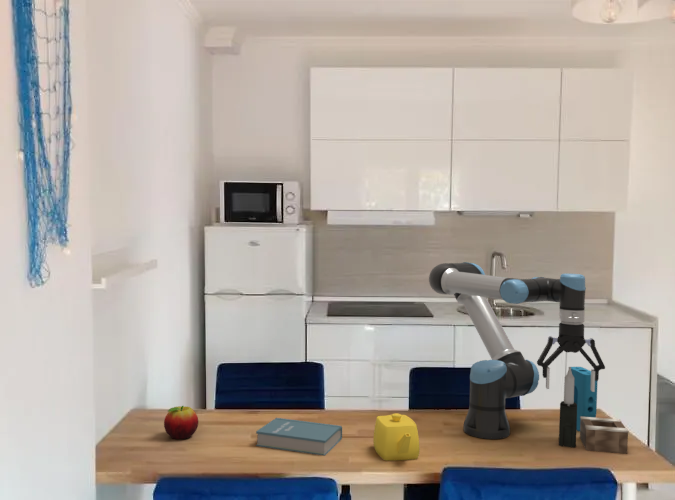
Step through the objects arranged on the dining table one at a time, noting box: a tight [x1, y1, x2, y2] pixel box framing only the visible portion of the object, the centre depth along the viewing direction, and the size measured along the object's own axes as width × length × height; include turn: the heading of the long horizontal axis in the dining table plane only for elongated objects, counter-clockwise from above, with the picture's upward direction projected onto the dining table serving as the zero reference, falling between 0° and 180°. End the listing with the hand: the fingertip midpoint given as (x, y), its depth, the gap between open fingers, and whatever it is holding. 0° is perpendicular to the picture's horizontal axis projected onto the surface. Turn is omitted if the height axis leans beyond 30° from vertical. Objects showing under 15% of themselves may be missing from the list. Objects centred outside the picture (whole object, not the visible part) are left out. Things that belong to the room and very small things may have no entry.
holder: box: [579, 416, 629, 454], centre depth 207 cm, size 12×12×7 cm
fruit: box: [163, 405, 199, 440], centre depth 208 cm, size 11×11×10 cm
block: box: [570, 366, 599, 433], centre depth 224 cm, size 12×5×20 cm, turn 8°
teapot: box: [372, 412, 420, 462], centre depth 196 cm, size 20×12×12 cm, turn 12°
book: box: [255, 417, 343, 456], centre depth 205 cm, size 23×16×5 cm
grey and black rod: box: [558, 366, 577, 449], centre depth 207 cm, size 5×5×25 cm
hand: (569, 389), depth 206 cm, fingers open, 13 cm apart
